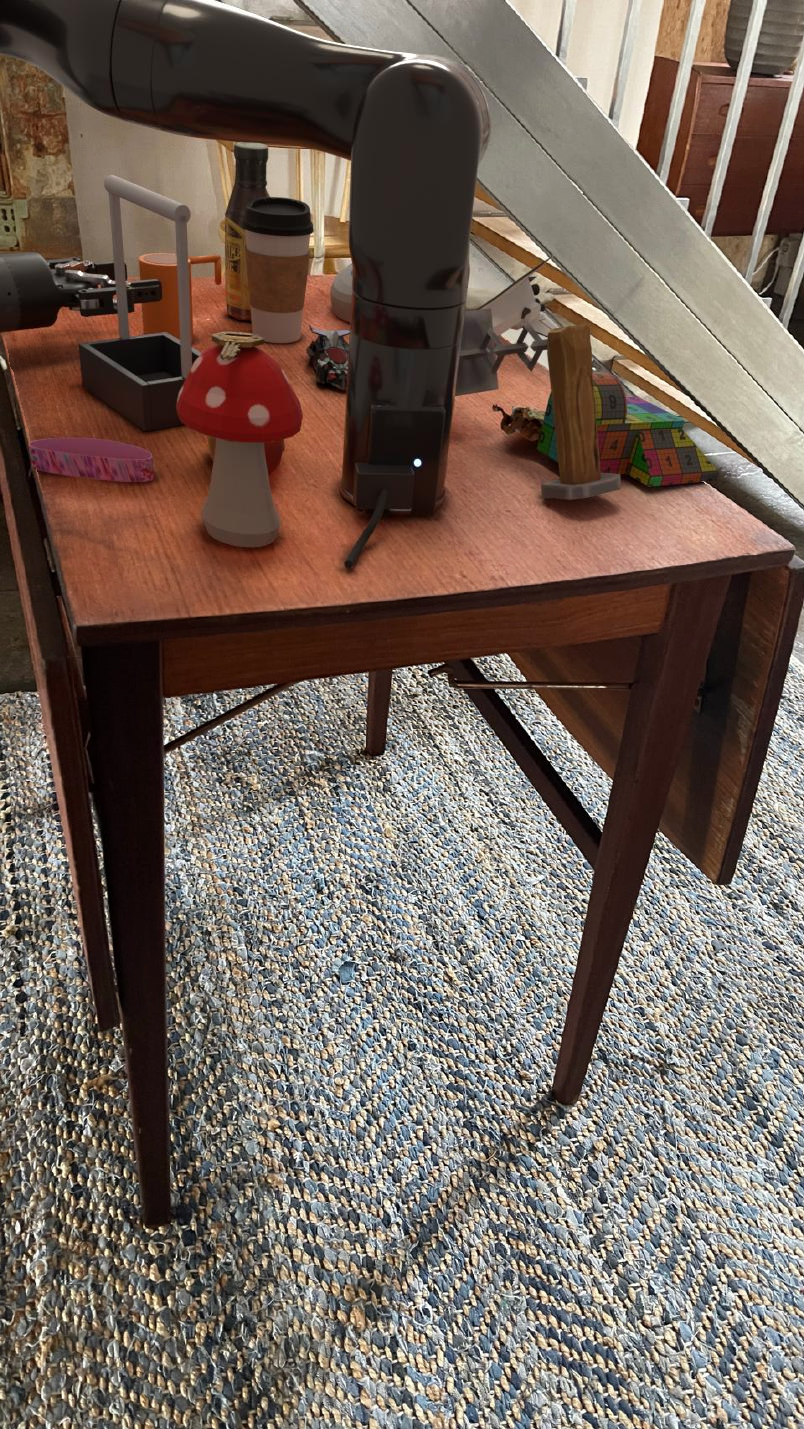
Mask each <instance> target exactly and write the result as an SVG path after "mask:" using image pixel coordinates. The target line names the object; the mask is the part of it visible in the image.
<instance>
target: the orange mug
mask: <svg viewBox="0 0 804 1429" xmlns="http://www.w3.org/2000/svg"><path fill="white" fill-rule="evenodd" d="M212 263H213V265H214V267H213V269H214V271H213V272H214V283H215V285H216V286H220V285H221V284H222V256H221V255H220V254H210V255H209V254H208V255H198V256H196V255H195V256H188V270H189V297H190V324H191V344H192V343H193V342H194V320H193V319H194V318H193V288H192V265H201V264H212ZM138 267H139V268H138V270H139V281H140V280H150V279H156V280H158V281H160V282H161V284H162V299H161V301H157V302H148V303H141V314H142V317H141V318H142V332H143V335H147V334H155V333H163V332H167V333H168V334H170V335H172V336H173V337H175V338H177V339H179V340H180V323H179V300H178V276H177V253H176V254H175V253H168V252H153V253H146V254H142V255H140V256H139V257H138Z"/></svg>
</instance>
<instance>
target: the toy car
mask: <svg viewBox="0 0 804 1429" xmlns="http://www.w3.org/2000/svg"><path fill="white" fill-rule="evenodd" d="M308 325H309V330H310V332H311V333H312V334H315V335H317V338H316V339H315V340H314V339H311V342H310V344H309V346H306V349H305V351H306V355H307V359H308V362H309V364H312V367H313V368H314V370H315V372H316V374H315V380H316V383H318V384H326V383H328V384H331V386H334V387H336V388H337V389H339V390H342V391H346V389H347V371H348V353H349V342H347V341H346V340H345V336H349V334H350V328H349V329H342V330H323V329H318V328H313V327H312V326H311V324H308Z"/></svg>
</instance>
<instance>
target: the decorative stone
mask: <svg viewBox="0 0 804 1429" xmlns="http://www.w3.org/2000/svg"><path fill="white" fill-rule="evenodd" d="M352 277H353V267H352V262H351V263H350V264H348V265H347V266H345V267H344V268H343V269H341V270H340V271H339V272H338V273H337V274H336V276H334V278H333V281H332V283H331V286H330V289H329V290H330V291H329V292H330V293H329V294H330V295H329V296H330V303H331V304H330V305H331V309H332V312H333V314H335V316H336V317H338V319H340V320H343V321H345V322H347V323H350V319H351V301H352Z"/></svg>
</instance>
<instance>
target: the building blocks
mask: <svg viewBox="0 0 804 1429" xmlns="http://www.w3.org/2000/svg"><path fill="white" fill-rule="evenodd" d="M593 387H594V399H595V412H596V424H597V436H598V448H599V460H600V473H610V474H620V475H625V474H626V475H628V476H629V477H631V478H633V479H635V480H637V481H638V482H640V483H641V484H643V485H644V486H646V487H659V486H671V485H681V484H683V485H684V484H694V483H705V482H715V481H717V480H718V477H719V474H720V471H718V469H717V468H716V467H715V465H714V464H713V463H712V462H711V461H710V459H709V458H708V457H707V456H706V455H705V454H704V452H702V450H701V449H700V448H699V446H698V445H697V444H696V443H695V442H694V440H693V439H691V437H690V436H689V435H688V434H687V432H686V431H685V430H684V429H683V428H684V424H685V422H686V420H685V419H684V418H681V417H679V416H677V415H676V414H674V413H672V412H670V411H668V410H666V409H664V408H662V407H660V406H657V405H656V404H653V403H652V402H649V401H648V400H645V399H644V398H641V397H640V396H626V393H625V389H624V387H623V385H622V384H621V382H620V380H619V379H618V378H617V377H616V376H614V375H613V374H612V373H609V372H604V371H593ZM547 399H548V400H547V404H546V407H545V416H544V423H543V425H542V429H541V433H540V438H539V440H538V443H537V447H536V451H537V452H539V453H540V454H543V455H544V456H546V457H547V458H548V459H550V460H552V461H554V462H555V463H556V464H558V465H559V463H558V453H557V443H556V434H555V424H554V414H553V404H552V394H551V392H550V394H549V396H548V398H547Z"/></svg>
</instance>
